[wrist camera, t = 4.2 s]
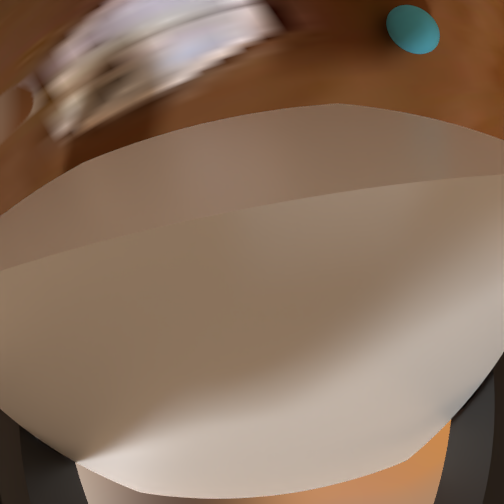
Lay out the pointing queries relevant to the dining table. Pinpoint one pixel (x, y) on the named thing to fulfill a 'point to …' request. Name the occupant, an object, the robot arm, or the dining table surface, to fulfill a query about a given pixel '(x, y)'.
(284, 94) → the dining table surface
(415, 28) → the ball
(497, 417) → the robot arm
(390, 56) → the dining table surface
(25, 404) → the off-white square block
